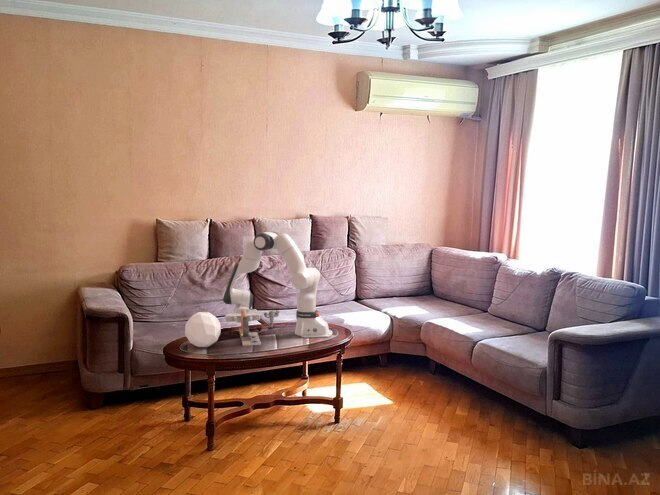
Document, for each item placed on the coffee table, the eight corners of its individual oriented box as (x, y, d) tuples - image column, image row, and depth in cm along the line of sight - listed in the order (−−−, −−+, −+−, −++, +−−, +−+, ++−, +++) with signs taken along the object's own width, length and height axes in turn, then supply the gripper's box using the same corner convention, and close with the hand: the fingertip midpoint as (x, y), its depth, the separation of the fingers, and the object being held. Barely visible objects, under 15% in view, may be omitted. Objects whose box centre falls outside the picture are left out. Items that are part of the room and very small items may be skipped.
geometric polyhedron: (195, 360, 319) (172, 334, 312) (207, 338, 336) (185, 313, 330) (222, 346, 312) (198, 319, 305) (232, 325, 329) (210, 299, 323)
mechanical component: (263, 327, 362) (263, 311, 361) (277, 325, 368) (277, 309, 367) (265, 328, 359) (265, 312, 358) (279, 326, 365) (279, 310, 364)
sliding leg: (239, 331, 343) (238, 309, 341) (247, 330, 344) (247, 308, 343) (239, 333, 338) (239, 311, 337) (248, 332, 339) (248, 310, 338)
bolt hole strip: (246, 334, 346) (246, 332, 346) (257, 334, 347) (256, 331, 347) (250, 345, 323) (250, 343, 323) (260, 344, 325) (260, 342, 325)
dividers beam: (239, 335, 345) (238, 309, 343) (247, 334, 346) (247, 308, 344) (241, 345, 322) (241, 318, 321) (251, 345, 324) (250, 317, 322)
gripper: (224, 310, 350) (225, 315, 337) (258, 308, 355) (261, 314, 341) (224, 320, 351) (225, 326, 338) (258, 319, 355) (261, 324, 342)
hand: (243, 320), depth 339 cm, fingers open, 5 cm apart
